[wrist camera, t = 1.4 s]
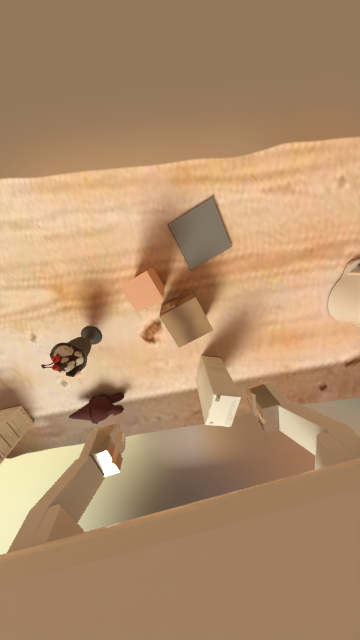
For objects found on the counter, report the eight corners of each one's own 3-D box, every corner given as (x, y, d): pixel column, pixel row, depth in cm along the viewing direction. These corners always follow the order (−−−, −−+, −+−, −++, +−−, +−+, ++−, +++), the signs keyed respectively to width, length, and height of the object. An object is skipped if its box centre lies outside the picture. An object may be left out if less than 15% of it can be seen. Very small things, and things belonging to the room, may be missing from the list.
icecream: (72, 436, 44) (127, 420, 45) (56, 424, 40) (117, 407, 41) (80, 411, 50) (129, 397, 51) (66, 398, 46) (120, 383, 47)
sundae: (79, 319, 40) (31, 352, 26) (108, 328, 41) (76, 364, 27) (75, 342, 42) (27, 385, 28) (102, 350, 43) (70, 394, 29)
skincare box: (213, 380, 49) (232, 429, 35) (194, 378, 48) (204, 427, 34) (221, 356, 46) (244, 398, 32) (200, 353, 45) (214, 395, 31)
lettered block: (190, 288, 39) (195, 295, 31) (205, 317, 42) (213, 330, 34) (160, 305, 40) (159, 315, 32) (177, 331, 43) (179, 347, 35)
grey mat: (211, 198, 33) (212, 197, 32) (230, 246, 36) (231, 246, 36) (168, 225, 34) (168, 224, 34) (190, 269, 37) (190, 269, 37)
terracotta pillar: (153, 267, 37) (146, 270, 26) (164, 286, 38) (162, 298, 27) (134, 278, 37) (119, 286, 26) (146, 297, 39) (137, 313, 28)
